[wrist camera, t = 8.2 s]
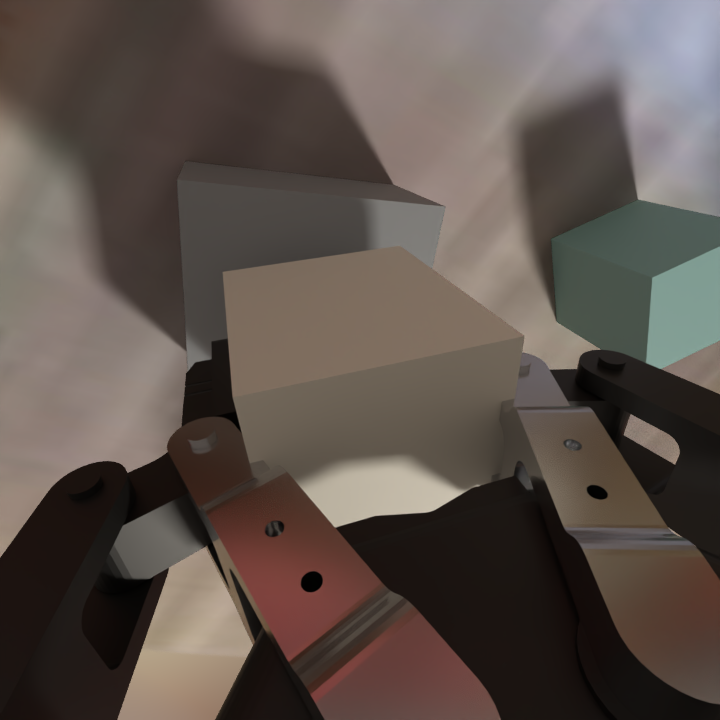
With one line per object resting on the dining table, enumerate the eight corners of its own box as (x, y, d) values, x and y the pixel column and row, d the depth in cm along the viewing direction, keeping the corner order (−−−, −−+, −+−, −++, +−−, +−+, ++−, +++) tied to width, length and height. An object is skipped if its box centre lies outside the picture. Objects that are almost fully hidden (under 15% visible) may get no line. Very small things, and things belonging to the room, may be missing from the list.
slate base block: (391, 184, 18) (445, 206, 14) (365, 353, 22) (401, 410, 18) (185, 160, 16) (177, 180, 12) (194, 356, 19) (191, 424, 15)
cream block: (400, 245, 13) (524, 335, 8) (401, 387, 15) (495, 525, 10) (222, 272, 11) (232, 397, 7) (256, 420, 14) (282, 591, 9)
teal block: (637, 199, 22) (762, 226, 17) (633, 285, 25) (740, 330, 20) (550, 238, 22) (652, 277, 17) (556, 321, 24) (644, 376, 19)
